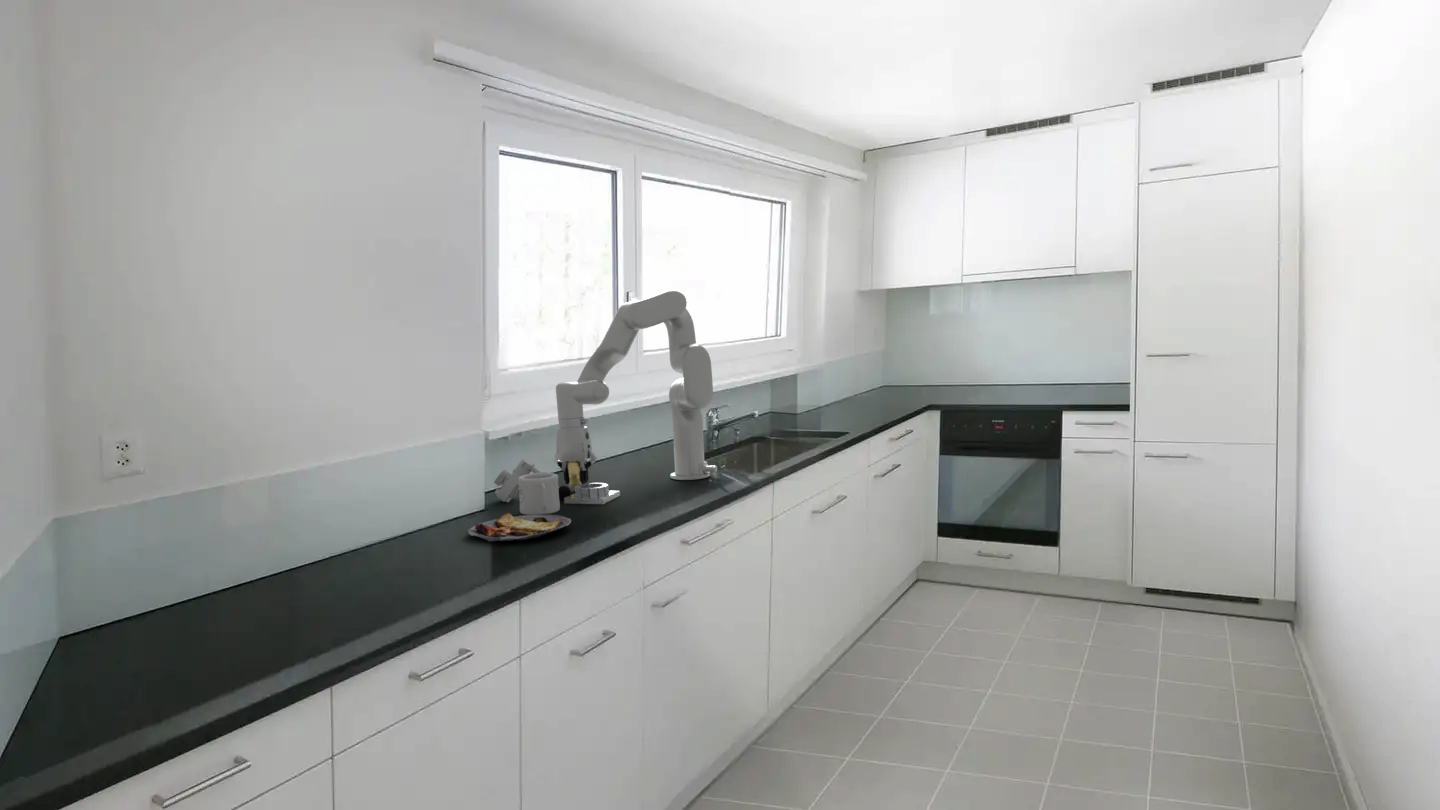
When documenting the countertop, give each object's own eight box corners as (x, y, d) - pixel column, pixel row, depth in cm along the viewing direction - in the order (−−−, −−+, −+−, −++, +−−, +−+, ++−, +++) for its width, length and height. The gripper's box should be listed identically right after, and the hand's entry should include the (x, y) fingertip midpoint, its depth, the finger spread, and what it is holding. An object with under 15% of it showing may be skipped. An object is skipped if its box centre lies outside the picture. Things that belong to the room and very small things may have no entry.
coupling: (587, 484, 294) (585, 459, 293) (580, 487, 290) (578, 462, 289) (573, 484, 295) (571, 460, 294) (566, 487, 291) (564, 463, 290)
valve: (539, 536, 278) (569, 496, 275) (483, 493, 277) (513, 454, 274) (548, 525, 288) (577, 487, 285) (495, 484, 287) (524, 445, 284)
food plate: (448, 540, 236) (447, 526, 236) (514, 520, 256) (513, 507, 256) (525, 549, 224) (524, 534, 223) (588, 527, 243) (588, 514, 243)
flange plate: (620, 495, 282) (619, 482, 282) (603, 504, 271) (602, 490, 271) (582, 495, 286) (581, 481, 286) (564, 503, 275) (563, 489, 274)
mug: (516, 510, 268) (514, 474, 267) (555, 506, 272) (553, 470, 271) (526, 519, 255) (523, 482, 254) (566, 514, 259) (564, 477, 258)
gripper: (602, 420, 291) (607, 480, 293) (551, 422, 296) (557, 480, 298) (592, 424, 284) (597, 485, 286) (540, 426, 289) (545, 486, 291)
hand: (576, 482), depth 292 cm, fingers closed on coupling, 4 cm apart
